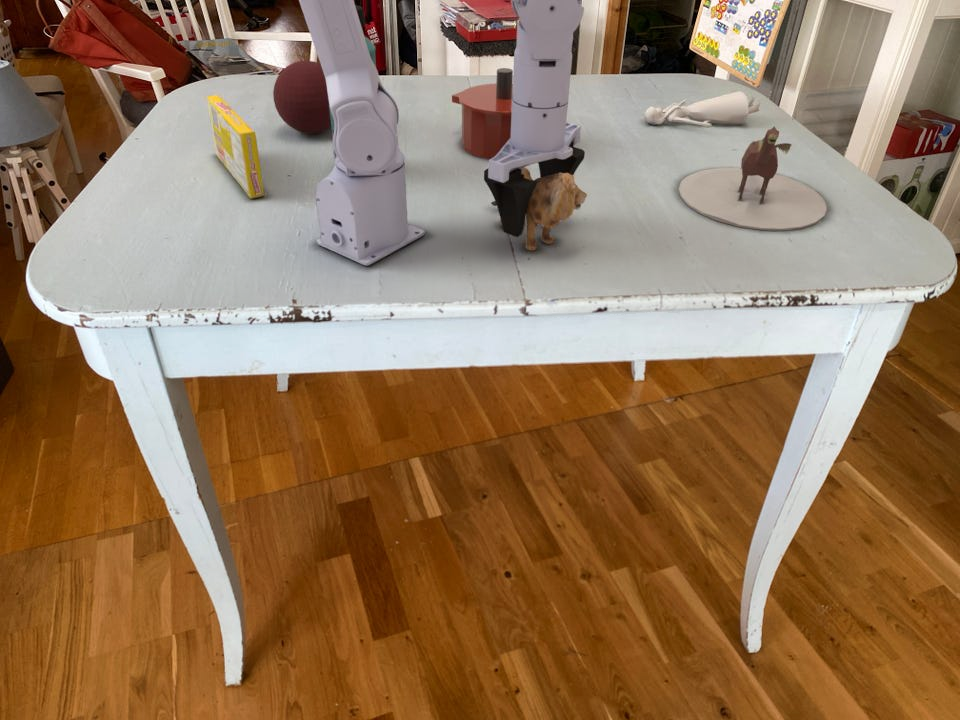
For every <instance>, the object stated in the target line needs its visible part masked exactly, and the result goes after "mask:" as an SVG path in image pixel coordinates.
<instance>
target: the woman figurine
mask: <svg viewBox="0 0 960 720" xmlns="http://www.w3.org/2000/svg"><path fill="white" fill-rule="evenodd" d="M754 102H755V96H754V95H751V98H750V99H749V100H748V97H747V95H746V94H745V93H744V92H743V91H741V90H739V91H735V92H731V93H726V94H723V95H719V96H716V97H711V98H708V99H704V100H700V101H696V102H694V103H691V104H689V105H686V106H684V104H686V99H684V100H681V101H680V102H673V103H672V104H670V105H668V106H667V107H665V108H664V109H663V108H662V107H660V106H658V107H654V106H650V107H648V108H647V110H645V112H644V120H645V122H646V123H647V124H649V125H653V126H659V125H661V124H663V123H664V122H665V120H666V121H668V122H670V123H673V124H674V123H682V124H690V125H697V126H701V127H704V128H712V127H713V124H720V125H733V126H734V125H735V126H742V125H744V124H745V123H746V122H747V119H748V116H749V115H750V114H755V113H757V112H759V111H760V107H761V104H762V103H761V101H760V100H759V99H757V102H756V103H755V104H754ZM685 117H687V118H685Z"/></svg>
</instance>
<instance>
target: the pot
mask: <svg viewBox="0 0 960 720" xmlns="http://www.w3.org/2000/svg"><path fill="white" fill-rule="evenodd" d="M461 92H462V91H460V92H457V93H455V94H452V95H451V103H453V104H454V103H455V104H458V105H461V104H460V102H459V95H460V93H461ZM510 138H511V116H502V115H490V114H484V113H479V112H475V111H472V110H469V109H467V108H465V107H464V106H462V105H461V143H462V148H463V150H464V151H465V152H466V153H468V154H470V155H472V156H475V157H477V158H481V159H486V160H490V159H492V158H493V157H495V156H496V155H497V154H498V153H499V151H500V150H501V149H502V148H503V146H504V145H505V144H506V143H507V141H508V140H509V139H510Z"/></svg>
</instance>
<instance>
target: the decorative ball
mask: <svg viewBox="0 0 960 720" xmlns="http://www.w3.org/2000/svg"><path fill="white" fill-rule="evenodd" d="M272 95H273V104H274V106H275V109H276V111H277V113H278V115H279V117H280V118H281V119H282V121H283V122H284V123H285V124H286V125H287V126H289V127H290V128H291V129H293V130H295V131H297V132H300V133H304V134H310V135H311V134H319V133H323V132H325V131H327V130H329V129H330V127H331V128H332V126H331V122H330V121H331V120H329V119H331V117H330V114H329V113H330V112H329V111H330V110H329V109H330V107H329V103H328V102H329V99H328V92H327V85H326V79H325V75H324V72H323V69H322V66H321V63H320V62H316V61H312V60H300V61H299V60H298V61H295V62H292V63H290V64H289V65H287V66H285V68H284V69H282V70H281V71H280V73H279V74H278V76H277V78H276V79H275V82H274V84H273V91H272ZM327 100H328V101H327ZM329 117H330V118H329Z"/></svg>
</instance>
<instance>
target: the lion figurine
mask: <svg viewBox="0 0 960 720" xmlns="http://www.w3.org/2000/svg"><path fill="white" fill-rule="evenodd" d="M521 174H524V178H526V179H529V180H533V181H536V182H537V184H536V186H535V188H534V190H533V192H532V194H531V196H530V199H529V202H528V206H527V210H526V217H525V223H526V239H525V240H526V241H525V249H526V250H527V251H535V250H537V249H538V248H537V247H538V246H537V240H536V231H537V226H538V225H539V226H542V229H541V237H540V238H541V239H540V240H541V241H542V242H543V243H544V244H546V245H551V244H553V243H554V242H555V239H554V237H553V236H550V231H551V229H552V228H553V227H557V226H558V225H559V224H560V223H561V221H566V220H567V219H569V218H570V217H571V216H572V215H573V214H574V211H575V210H577V211H578V210H580V209H581V206H582V205H583V204H584V203H585V201H586V198H587V197H588V194H587V193H586V191H584V190H581V188H579V186H578V185H577V184H576V183H575V176H574V175H571V174H569V173H561V172H560V173H558V174H554V175H551V176H546V177H543V178H540V177H537V178H534V179H533V177H532V176H531V175H532V174H531V172H530V170H529V169H528V168H526V167H524V168H522V172H521ZM490 204H491V206H493V207H497V204H496V202H495V200H494V201H493V200H492V201H491V202H490ZM498 225H499V226H500V227H502V223H501V219H500V220H499V224H498Z"/></svg>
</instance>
